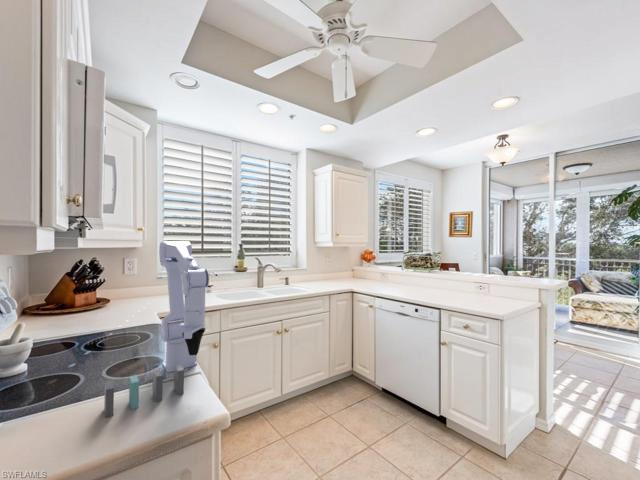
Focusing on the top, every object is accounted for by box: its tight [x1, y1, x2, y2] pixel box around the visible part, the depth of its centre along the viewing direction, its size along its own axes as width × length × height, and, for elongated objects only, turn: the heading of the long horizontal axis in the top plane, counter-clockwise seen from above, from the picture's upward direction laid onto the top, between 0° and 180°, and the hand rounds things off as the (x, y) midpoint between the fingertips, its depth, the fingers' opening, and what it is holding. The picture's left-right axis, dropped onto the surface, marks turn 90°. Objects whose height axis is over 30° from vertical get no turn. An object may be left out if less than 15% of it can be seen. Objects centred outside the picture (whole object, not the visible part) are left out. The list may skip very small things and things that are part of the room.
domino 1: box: [103, 380, 115, 418], centre depth 73 cm, size 2×4×7 cm, turn 40°
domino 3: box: [152, 368, 164, 403], centre depth 80 cm, size 2×4×7 cm, turn 40°
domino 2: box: [128, 374, 140, 411], centre depth 76 cm, size 2×4×7 cm, turn 40°
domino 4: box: [173, 364, 185, 396], centre depth 83 cm, size 2×4×7 cm, turn 40°
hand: (193, 354), depth 86 cm, fingers closed
